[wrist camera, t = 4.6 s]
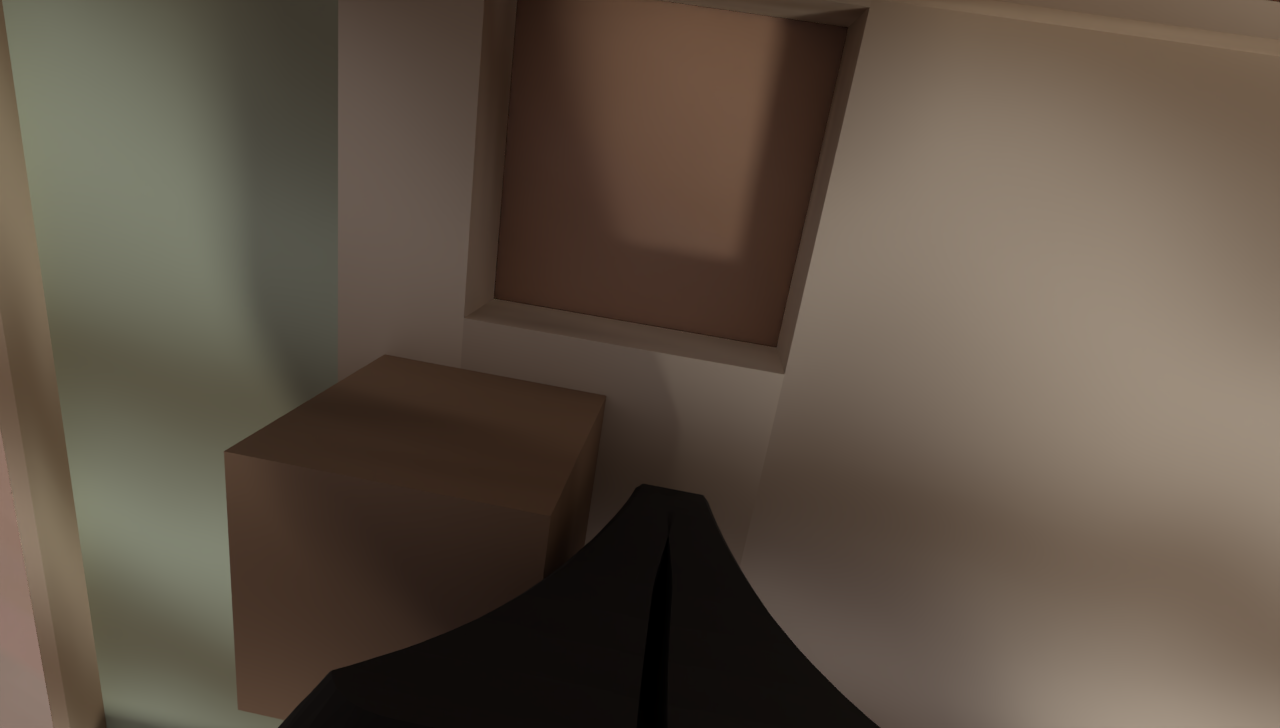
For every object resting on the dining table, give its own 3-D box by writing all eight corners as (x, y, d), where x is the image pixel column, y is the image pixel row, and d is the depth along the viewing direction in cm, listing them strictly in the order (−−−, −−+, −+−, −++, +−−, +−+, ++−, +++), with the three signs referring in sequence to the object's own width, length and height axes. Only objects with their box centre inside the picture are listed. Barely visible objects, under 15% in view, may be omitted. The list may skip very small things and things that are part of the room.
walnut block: (578, 587, 13) (518, 772, 9) (378, 546, 13) (237, 710, 9) (606, 395, 11) (550, 516, 8) (384, 354, 12) (223, 451, 8)
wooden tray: (1099, 900, 16) (1163, 1026, 13) (149, 693, 17) (62, 776, 15) (1538, 89, 10) (1780, 69, 8) (55, -120, 11) (-109, -187, 9)
